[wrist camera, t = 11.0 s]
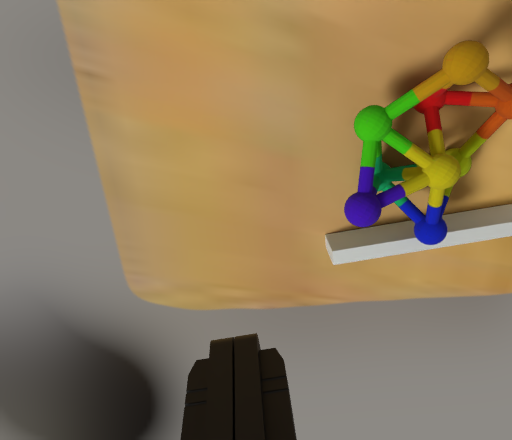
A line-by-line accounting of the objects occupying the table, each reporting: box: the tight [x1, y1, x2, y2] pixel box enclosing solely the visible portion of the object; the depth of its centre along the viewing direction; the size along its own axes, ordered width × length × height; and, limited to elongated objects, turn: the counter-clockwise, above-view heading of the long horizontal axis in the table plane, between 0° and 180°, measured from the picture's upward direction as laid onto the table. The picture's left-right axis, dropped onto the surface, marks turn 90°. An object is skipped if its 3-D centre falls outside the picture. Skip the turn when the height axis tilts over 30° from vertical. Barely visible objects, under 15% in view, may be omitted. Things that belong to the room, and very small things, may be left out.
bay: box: [325, 204, 512, 265], centre depth 30 cm, size 23×20×3 cm
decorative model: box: [344, 41, 512, 245], centre depth 30 cm, size 13×9×15 cm
